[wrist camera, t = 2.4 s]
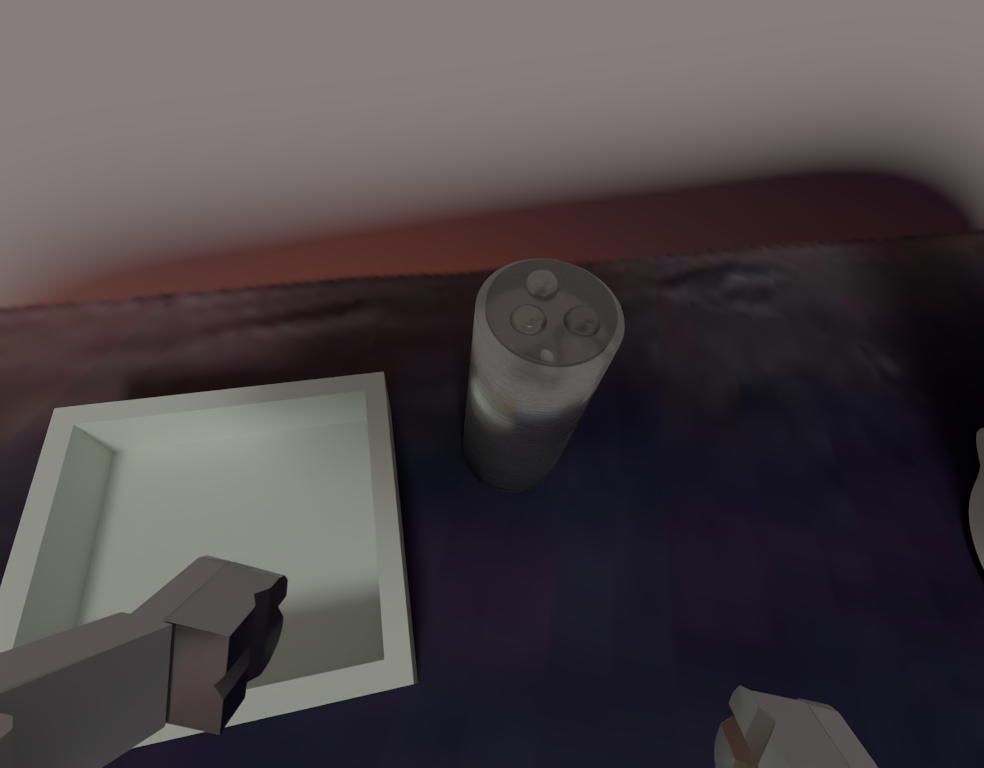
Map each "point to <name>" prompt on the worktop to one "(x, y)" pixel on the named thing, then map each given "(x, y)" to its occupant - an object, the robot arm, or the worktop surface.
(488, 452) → the gray flashlight
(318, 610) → the sage bin
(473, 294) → the worktop surface
